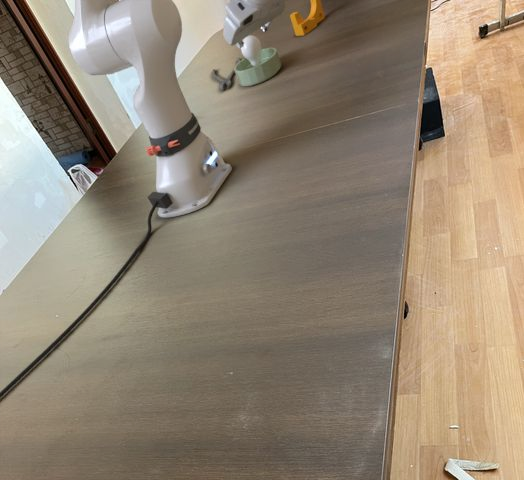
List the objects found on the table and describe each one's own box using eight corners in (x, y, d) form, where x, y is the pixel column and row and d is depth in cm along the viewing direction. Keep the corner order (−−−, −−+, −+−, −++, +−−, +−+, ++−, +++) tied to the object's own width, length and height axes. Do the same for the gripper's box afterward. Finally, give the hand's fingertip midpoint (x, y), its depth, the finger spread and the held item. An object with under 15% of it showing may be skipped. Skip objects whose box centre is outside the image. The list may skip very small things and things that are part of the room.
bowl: (277, 78, 149) (271, 61, 145) (236, 92, 154) (229, 76, 151) (285, 59, 157) (280, 42, 154) (245, 73, 163) (239, 57, 160)
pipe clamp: (304, 35, 166) (298, 14, 162) (295, 35, 169) (289, 15, 165) (328, 17, 169) (323, -4, 165) (319, 18, 172) (314, -3, 168)
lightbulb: (265, 67, 158) (252, 30, 150) (272, 70, 153) (259, 32, 146) (248, 76, 158) (234, 40, 150) (255, 80, 153) (241, 43, 146)
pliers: (239, 56, 175) (240, 80, 157) (240, 59, 175) (241, 82, 158) (212, 69, 177) (209, 93, 160) (213, 71, 178) (211, 96, 161)
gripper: (278, -29, 134) (271, 12, 148) (220, 8, 131) (218, 47, 144) (293, -12, 134) (285, 28, 148) (235, 26, 131) (232, 63, 144)
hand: (251, 37), depth 146 cm, fingers open, 8 cm apart
